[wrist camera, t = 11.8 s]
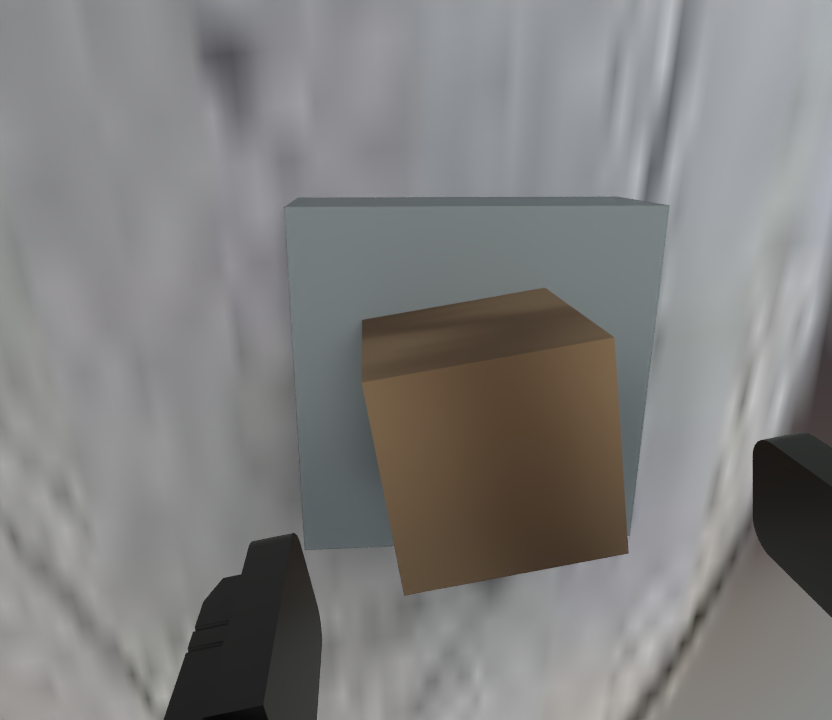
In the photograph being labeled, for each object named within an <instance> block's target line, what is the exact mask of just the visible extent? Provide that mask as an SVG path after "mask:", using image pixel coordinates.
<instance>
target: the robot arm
mask: <svg viewBox="0 0 832 720" xmlns="http://www.w3.org/2000/svg"><path fill="white" fill-rule="evenodd" d="M753 523H754V528H755V531H756V534H757V537H758V539H759V541H760V543H761V545H762V547H763V548H764V550H765V551H766V553H767V554H768V555H769V556H770V557H771V558H772V559H773V560H774V561H775V562H776V563H777V564H778V565H779V566H780V567H781V568H782V569H783V570H784V571H785V572H786V573H787V574H788V575H789V576H790V577H791V578H792V579H793V580H794V581H795V582H796V583H798V585H799V586H800V587H801V588H802V589H803V590H804V591H805V592H806V593H808V595H809V596H810V597H812V599H813V600H815V601H816V602H817V603H818V604H819V605H820V606H821V607H822V608H823V609H824V610H825V611H826V612H827V613H828V614H829V615H830V616H831V617H832V448H831V447H830V446H828V445H827V444H825V443H823V442H822V441H820V440H819V439H817V438H816V437H814V436H812V435H811V434H809V433H806V432H799V433H795V434H790V435H785V436H780V437H775V438H770V439H765V440H760V441H758V442H757V443H756V444H755V447H754V450H753ZM321 650H322V632H321V622H320V616H319V611H318V606H317V602H316V599H315V595H314V591H313V588H312V584H311V581H310V577H309V573H308V570H307V566H306V562H305V559H304V555H303V552H302V548H301V544H300V541H299V539H298V537H297V535H296V534H295V533H292V534H287V535H282V536H277V537H272V538H267V539H262V540H257V541H252V542H251V543H250V545H249V548H248V552H247V555H246V559H245V563H244V567H243V570H242V574H241V575H236V576H231V577H226V578H223V579H222V580H221V581H220V582H219V584H218V585H217V586H216V587H215V588H214V590H213V591H212V592H211V593H210V595H209V596H208V597H207V598H206V599H205V601H204V602H203V605H202V608H201V611H200V614H199V616H198V619H197V622H196V625H195V632H193V634H192V637H191V640H190V643H189V646H188V653H186V655H185V658H184V661H183V664H182V667H181V670H180V673H179V676H178V679H177V682H176V685H175V688H174V691H173V694H172V696H171V699H170V702H169V705H168V708H167V711H166V714H165V717H164V720H317V707H318V693H319V679H320V665H321Z"/></svg>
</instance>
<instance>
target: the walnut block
mask: <svg viewBox="0 0 832 720" xmlns="http://www.w3.org/2000/svg"><path fill="white" fill-rule="evenodd" d="M362 387H363V392H364V397H365V402H366V407H367V412H368V417H369V422H370V427H371V432H372V437H373V442H374V447H375V452H376V457H377V462H378V467H379V472H380V477H381V482H382V487H383V492H384V497H385V502H386V507H387V512H388V517H389V522H390V527H391V532H392V537H393V542H394V547H395V552H396V557H397V562H398V567H399V572H400V577H401V582H402V587H403V592H404V595H410V594H415V593H420V592H426V591H431V590H436V589H442V588H447V587H452V586H458V585H463V584H468V583H474V582H479V581H484V580H490V579H495V578H500V577H505V576H511V575H516V574H521V573H527V572H532V571H537V570H543V569H548V568H553V567H559V566H564V565H569V564H575V563H580V562H585V561H591V560H596V559H601V558H607V557H612V556H617V555H623V554H628V537H627V522H626V507H625V492H624V476H623V461H622V446H621V430H620V415H619V400H618V385H617V369H616V354H615V339H614V337H613V336H612V335H610V334H609V333H608V332H606V331H605V330H603V329H602V328H601V327H599V326H598V325H596V324H595V323H594V322H592V321H591V320H589V319H588V318H587V317H585V316H584V315H582V314H581V313H580V312H578V311H577V310H576V309H574V308H573V307H571V306H570V305H569V304H567V303H566V302H564V301H563V300H562V299H560V298H559V297H557V296H556V295H555V294H553V293H552V292H550V291H549V290H548V289H546V288H540V289H534V290H529V291H523V292H517V293H512V294H506V295H500V296H495V297H489V298H483V299H477V300H472V301H466V302H460V303H455V304H449V305H443V306H438V307H432V308H426V309H421V310H415V311H409V312H404V313H398V314H392V315H387V316H381V317H375V318H370V319H364V320H362Z"/></svg>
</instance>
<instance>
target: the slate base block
mask: <svg viewBox="0 0 832 720" xmlns="http://www.w3.org/2000/svg"><path fill="white" fill-rule="evenodd" d="M284 211H285V227H286V244H287V261H288V278H289V295H290V311H291V328H292V345H293V362H294V379H295V395H296V412H297V429H298V446H299V463H300V479H301V496H302V513H303V530H304V547H305V550H316V549H339V548H361V547H384V546H394V542H393V537H392V532H391V527H390V522H389V517H388V512H387V507H386V502H385V497H384V492H383V487H382V482H381V477H380V472H379V467H378V462H377V457H376V452H375V447H374V442H373V437H372V432H371V427H370V422H369V417H368V412H367V407H366V402H365V397H364V392H363V387H362V320H364V319H370V318H375V317H381V316H387V315H392V314H398V313H404V312H409V311H415V310H421V309H426V308H432V307H438V306H443V305H449V304H455V303H460V302H466V301H472V300H477V299H483V298H489V297H495V296H500V295H506V294H512V293H517V292H523V291H529V290H534V289H540V288H546V289H548V290H549V291H550V292H552V293H553V294H555V295H556V296H557V297H559V298H560V299H562V300H563V301H564V302H566V303H567V304H569V305H570V306H571V307H573V308H574V309H576V310H577V311H578V312H580V313H581V314H582V315H584V316H585V317H587V318H588V319H589V320H591V321H592V322H594V323H595V324H596V325H598V326H599V327H601V328H602V329H603V330H605V331H606V332H608V333H609V334H610V335H612V336H613V337H614V339H615V354H616V369H617V385H618V400H619V415H620V430H621V446H622V461H623V476H624V492H625V507H626V522H627V536H630V528H631V520H632V512H633V504H634V495H635V487H636V479H637V470H638V462H639V454H640V445H641V437H642V429H643V420H644V412H645V404H646V396H647V387H648V379H649V371H650V362H651V354H652V346H653V337H654V329H655V321H656V312H657V304H658V296H659V288H660V279H661V271H662V263H663V254H664V246H665V238H666V229H667V221H668V213H669V205H663V204H657V203H651V202H645V201H639V200H633V199H627V198H621V197H413V198H297V199H296V200H294V201H293V202H291V203H290V204H288V205H287V206H285V207H284Z"/></svg>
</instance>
